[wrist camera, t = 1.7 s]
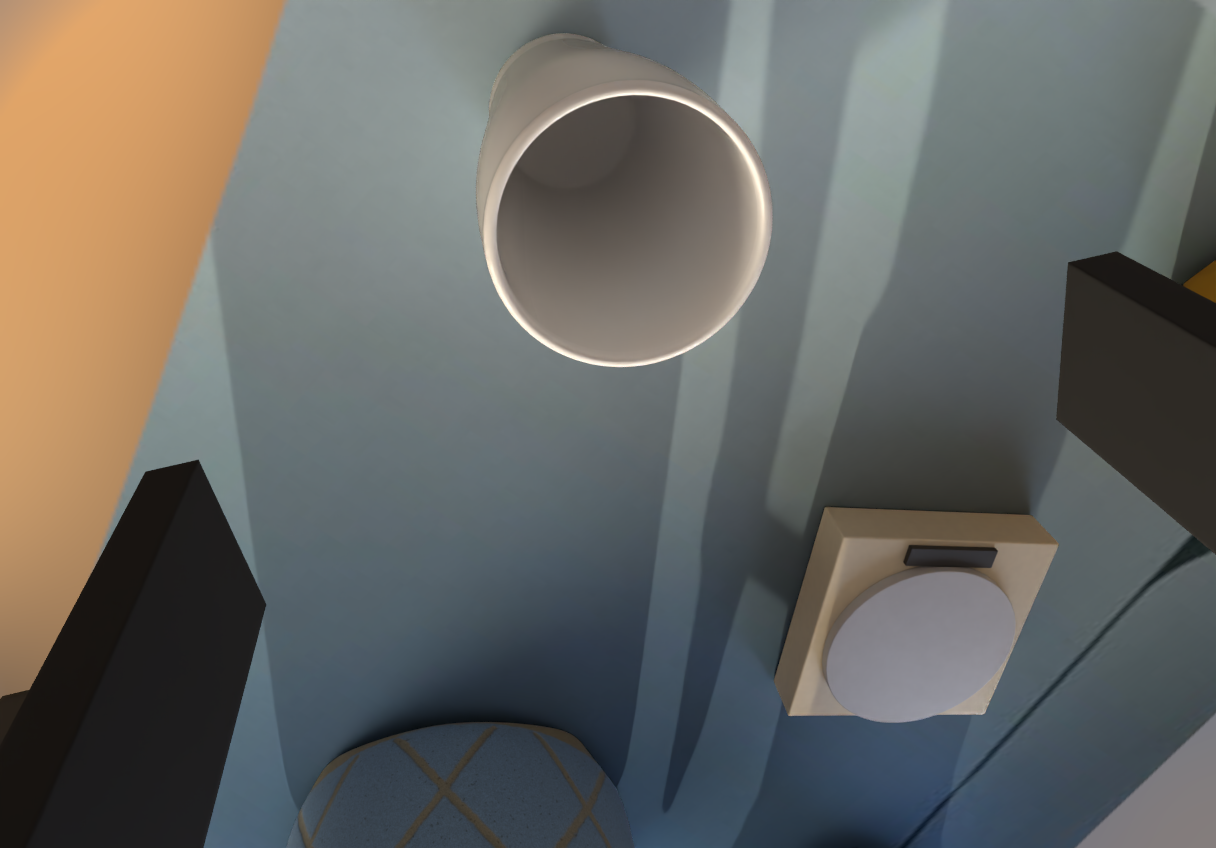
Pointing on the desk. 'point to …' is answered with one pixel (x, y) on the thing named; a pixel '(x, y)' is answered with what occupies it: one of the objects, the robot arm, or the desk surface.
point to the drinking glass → (616, 203)
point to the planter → (465, 793)
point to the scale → (910, 612)
